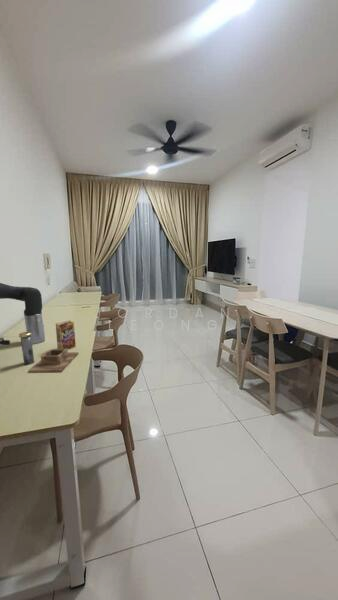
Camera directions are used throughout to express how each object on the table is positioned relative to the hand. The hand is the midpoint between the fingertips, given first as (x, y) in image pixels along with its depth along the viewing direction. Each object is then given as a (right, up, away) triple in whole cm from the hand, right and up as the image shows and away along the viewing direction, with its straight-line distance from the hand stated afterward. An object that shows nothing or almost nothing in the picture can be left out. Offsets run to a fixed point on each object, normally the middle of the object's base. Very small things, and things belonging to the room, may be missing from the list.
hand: (3, 345), depth 116 cm
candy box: (+23, -6, +19) cm, 30 cm away
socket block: (+24, -9, +2) cm, 26 cm away
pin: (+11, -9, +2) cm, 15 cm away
